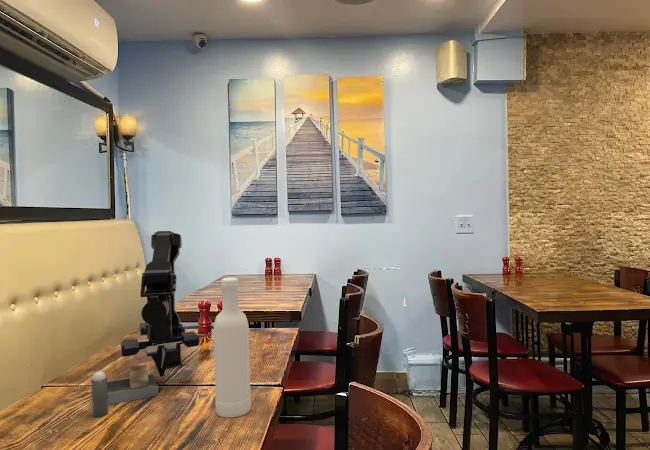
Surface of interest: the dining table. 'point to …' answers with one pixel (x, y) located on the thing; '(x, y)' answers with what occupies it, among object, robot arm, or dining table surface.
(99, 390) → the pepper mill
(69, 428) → the dining table surface
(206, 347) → the dining table surface
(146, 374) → the block
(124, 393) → the grey open tray
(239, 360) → the bottle
